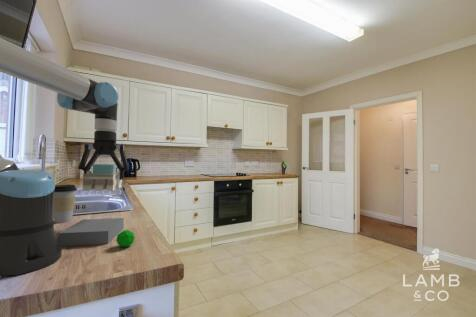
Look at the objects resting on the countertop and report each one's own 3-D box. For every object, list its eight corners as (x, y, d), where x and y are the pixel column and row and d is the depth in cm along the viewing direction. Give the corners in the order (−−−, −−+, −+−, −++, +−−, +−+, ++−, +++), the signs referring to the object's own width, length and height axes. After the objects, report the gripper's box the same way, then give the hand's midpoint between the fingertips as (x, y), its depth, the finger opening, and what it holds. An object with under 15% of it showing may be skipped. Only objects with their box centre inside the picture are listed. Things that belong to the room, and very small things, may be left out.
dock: (108, 243, 73) (108, 231, 73) (58, 246, 70) (58, 233, 70) (123, 228, 89) (123, 218, 89) (83, 230, 86) (83, 219, 86)
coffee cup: (65, 224, 94) (66, 187, 94) (42, 223, 94) (43, 186, 94) (82, 218, 103) (82, 184, 103) (61, 217, 103) (61, 184, 103)
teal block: (110, 173, 88) (110, 164, 88) (92, 173, 87) (93, 164, 87) (115, 173, 94) (115, 164, 94) (98, 173, 93) (99, 164, 93)
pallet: (112, 190, 86) (113, 174, 86) (82, 190, 84) (83, 174, 84) (122, 187, 97) (122, 172, 97) (95, 187, 95) (96, 172, 95)
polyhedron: (127, 242, 75) (127, 227, 75) (138, 245, 72) (138, 229, 72) (113, 247, 70) (113, 231, 70) (123, 250, 68) (123, 234, 68)
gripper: (138, 133, 97) (136, 187, 96) (77, 131, 92) (76, 187, 92) (134, 131, 90) (132, 189, 89) (68, 128, 85) (66, 189, 84)
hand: (103, 188), depth 90 cm, fingers closed on pallet, 10 cm apart
